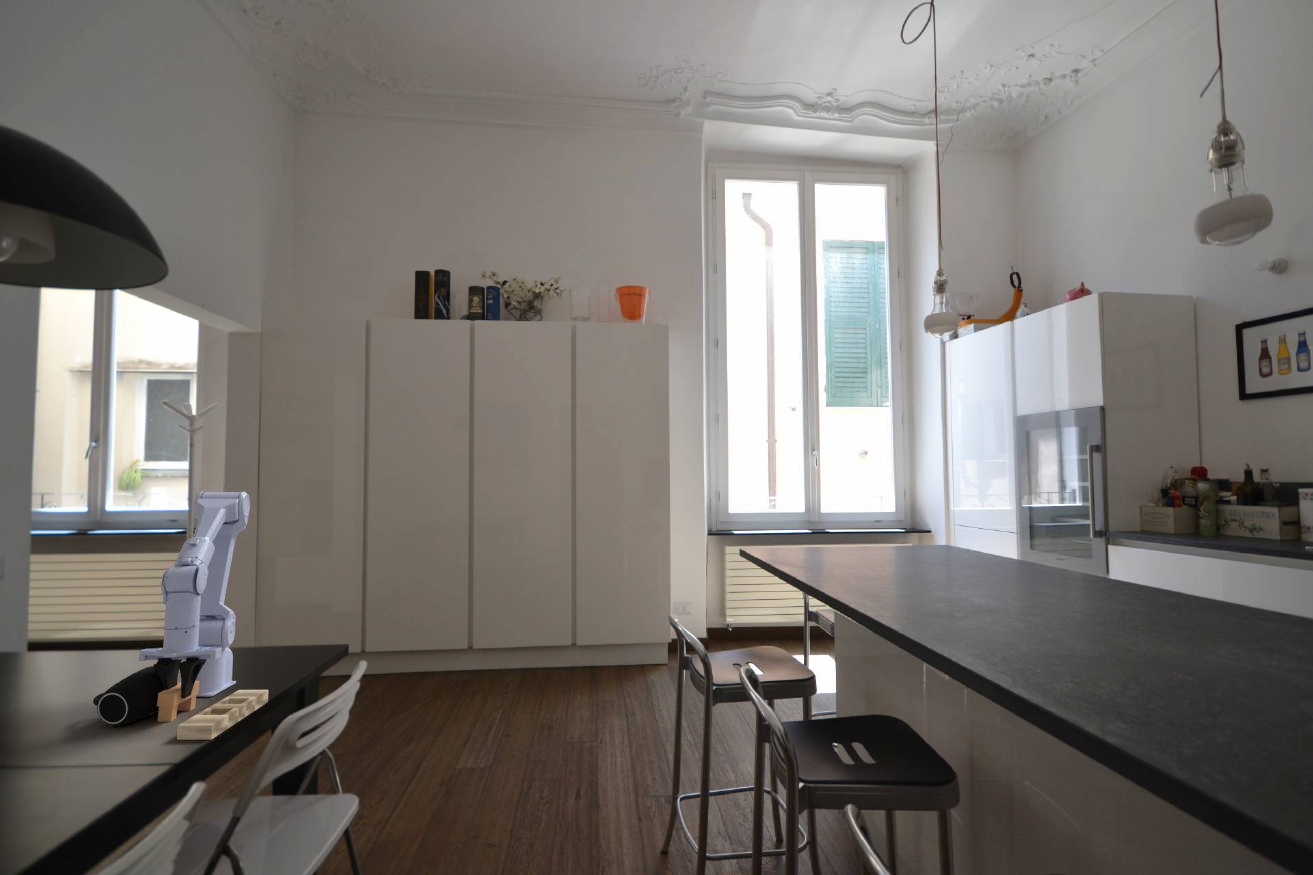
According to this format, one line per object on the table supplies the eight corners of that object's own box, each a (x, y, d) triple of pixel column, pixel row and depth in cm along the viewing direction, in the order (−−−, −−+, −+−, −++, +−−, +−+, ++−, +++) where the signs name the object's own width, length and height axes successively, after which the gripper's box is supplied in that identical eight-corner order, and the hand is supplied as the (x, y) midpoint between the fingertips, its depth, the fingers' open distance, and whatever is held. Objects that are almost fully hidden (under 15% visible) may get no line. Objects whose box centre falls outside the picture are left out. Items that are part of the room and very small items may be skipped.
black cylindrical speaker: (136, 732, 126) (177, 709, 136) (135, 684, 126) (176, 665, 136) (74, 732, 127) (119, 709, 137) (73, 684, 127) (118, 665, 137)
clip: (181, 707, 138) (184, 680, 139) (196, 708, 139) (199, 680, 139) (155, 722, 130) (158, 693, 131) (171, 722, 131) (174, 693, 131)
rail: (238, 701, 142) (238, 689, 142) (267, 701, 142) (268, 689, 143) (176, 739, 122) (177, 725, 122) (211, 739, 123) (212, 725, 123)
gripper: (129, 631, 131) (125, 703, 130) (208, 630, 132) (204, 702, 131) (154, 624, 138) (150, 693, 137) (228, 623, 139) (225, 691, 138)
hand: (178, 696), depth 134 cm, fingers closed on clip, 2 cm apart
